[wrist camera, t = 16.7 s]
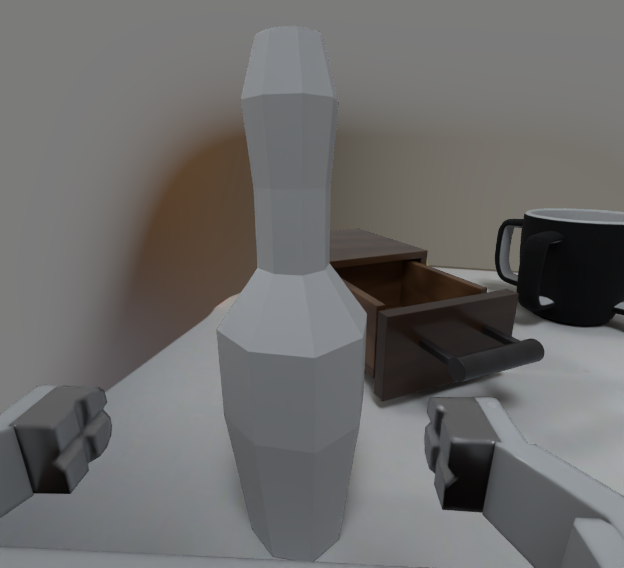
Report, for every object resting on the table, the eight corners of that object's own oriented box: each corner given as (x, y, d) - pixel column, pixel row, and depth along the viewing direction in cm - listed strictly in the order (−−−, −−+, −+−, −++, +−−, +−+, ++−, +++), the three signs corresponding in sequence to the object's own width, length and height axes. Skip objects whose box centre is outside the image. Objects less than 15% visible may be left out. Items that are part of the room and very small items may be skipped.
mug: (620, 299, 51) (643, 209, 47) (681, 353, 37) (722, 230, 33) (487, 286, 56) (499, 204, 53) (496, 328, 42) (514, 220, 38)
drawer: (559, 398, 28) (578, 314, 26) (423, 444, 24) (433, 347, 22) (405, 310, 45) (409, 254, 43) (309, 326, 41) (309, 265, 39)
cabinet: (421, 323, 44) (427, 250, 41) (312, 344, 39) (312, 263, 36) (356, 284, 58) (358, 228, 55) (270, 296, 53) (267, 235, 50)
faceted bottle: (322, 611, 16) (327, -20, 9) (211, 538, 19) (152, 26, 12) (378, 499, 21) (407, 46, 14) (283, 456, 24) (270, 67, 17)
